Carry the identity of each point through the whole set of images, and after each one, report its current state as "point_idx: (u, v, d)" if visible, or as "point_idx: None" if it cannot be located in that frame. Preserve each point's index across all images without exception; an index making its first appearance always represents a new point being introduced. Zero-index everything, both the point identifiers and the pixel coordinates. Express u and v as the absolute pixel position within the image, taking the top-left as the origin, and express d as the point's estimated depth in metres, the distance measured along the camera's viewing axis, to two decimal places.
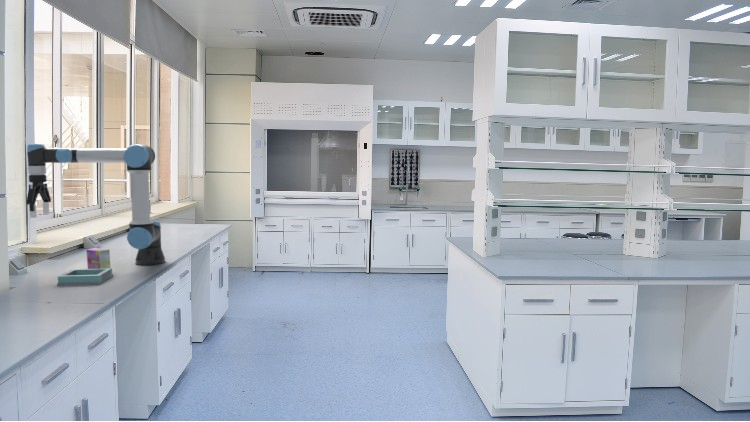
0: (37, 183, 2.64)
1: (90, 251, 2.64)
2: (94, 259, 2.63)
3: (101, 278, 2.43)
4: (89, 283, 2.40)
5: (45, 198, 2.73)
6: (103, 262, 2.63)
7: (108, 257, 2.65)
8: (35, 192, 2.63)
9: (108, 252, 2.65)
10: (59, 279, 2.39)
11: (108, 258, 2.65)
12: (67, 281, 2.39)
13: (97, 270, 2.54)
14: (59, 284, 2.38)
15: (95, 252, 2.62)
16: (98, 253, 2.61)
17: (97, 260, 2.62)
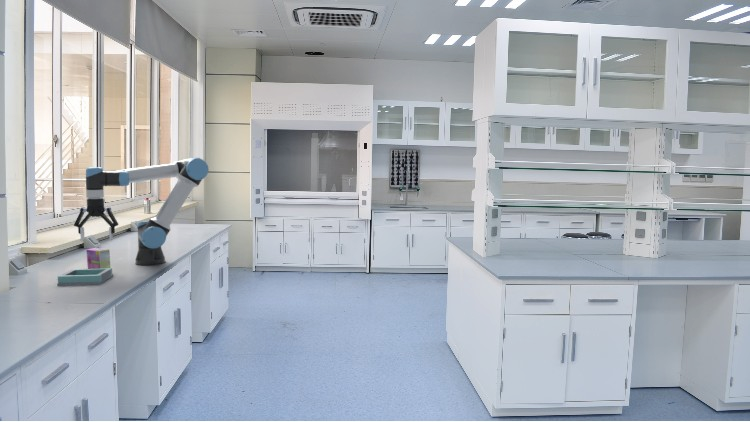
0: (88, 207, 2.62)
1: (90, 251, 2.64)
2: (94, 259, 2.63)
3: (101, 278, 2.43)
4: (89, 283, 2.40)
5: None
6: (103, 262, 2.63)
7: (108, 257, 2.65)
8: (87, 215, 2.63)
9: (108, 252, 2.65)
10: (59, 279, 2.39)
11: (108, 258, 2.65)
12: (67, 281, 2.39)
13: (97, 270, 2.54)
14: (59, 284, 2.38)
15: (95, 252, 2.62)
16: (98, 253, 2.61)
17: (97, 260, 2.62)
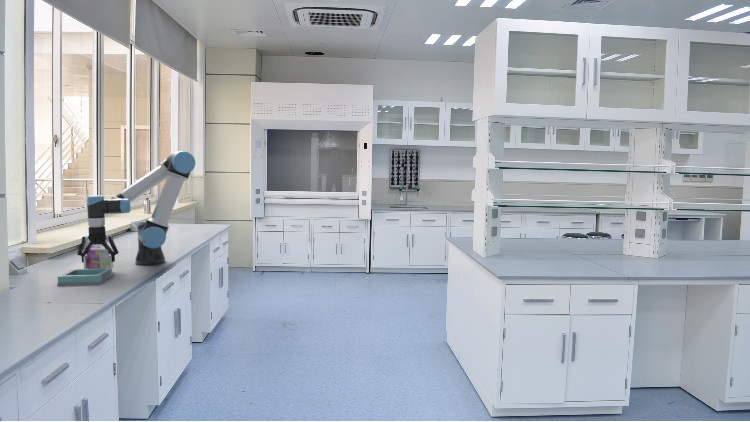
0: (90, 235, 2.63)
1: (90, 251, 2.64)
2: (94, 259, 2.63)
3: (101, 278, 2.43)
4: (89, 283, 2.40)
5: None
6: (103, 262, 2.63)
7: (108, 257, 2.65)
8: (89, 244, 2.64)
9: (108, 252, 2.65)
10: (59, 279, 2.39)
11: (108, 258, 2.65)
12: (67, 281, 2.39)
13: (97, 270, 2.54)
14: (59, 284, 2.38)
15: (95, 252, 2.62)
16: (98, 253, 2.61)
17: (97, 260, 2.62)
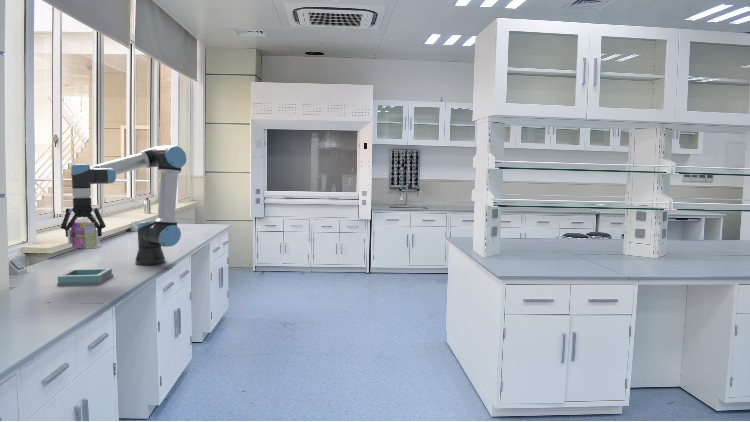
0: (74, 207, 2.43)
1: (74, 224, 2.44)
2: (79, 233, 2.43)
3: (101, 278, 2.43)
4: (89, 283, 2.40)
5: None
6: (89, 236, 2.43)
7: (94, 231, 2.45)
8: None
9: (94, 225, 2.45)
10: (59, 279, 2.39)
11: (94, 232, 2.45)
12: (67, 281, 2.39)
13: (97, 270, 2.54)
14: (59, 284, 2.38)
15: (80, 225, 2.42)
16: (83, 226, 2.41)
17: (82, 234, 2.42)
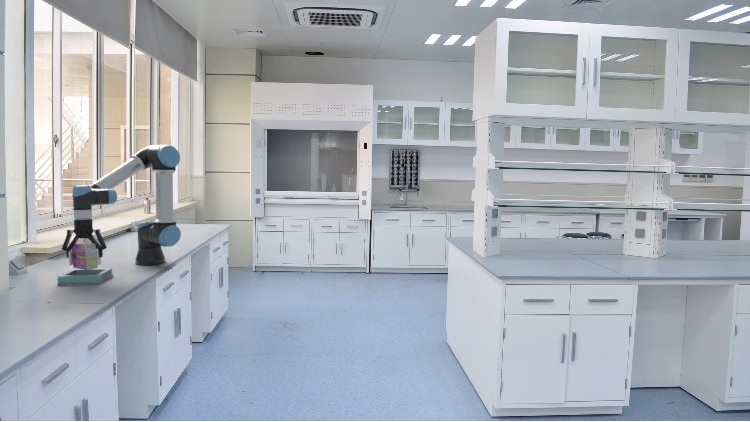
0: (75, 228, 2.44)
1: (75, 245, 2.45)
2: (80, 254, 2.44)
3: (101, 278, 2.43)
4: (89, 283, 2.40)
5: None
6: (90, 257, 2.44)
7: (95, 252, 2.46)
8: None
9: (95, 247, 2.46)
10: (59, 279, 2.39)
11: (95, 253, 2.46)
12: (67, 281, 2.39)
13: (97, 270, 2.54)
14: (59, 284, 2.38)
15: (81, 246, 2.43)
16: (84, 247, 2.42)
17: (83, 255, 2.43)
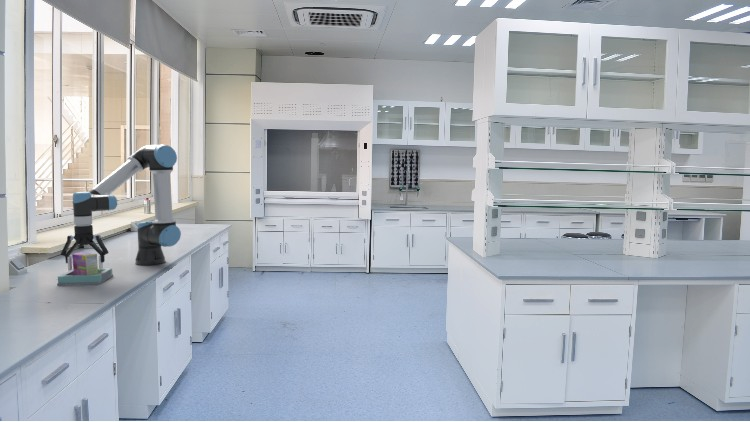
0: (76, 234, 2.44)
1: (76, 256, 2.45)
2: (80, 264, 2.44)
3: (101, 278, 2.43)
4: (89, 283, 2.40)
5: None
6: (90, 268, 2.44)
7: (95, 262, 2.46)
8: None
9: (95, 257, 2.46)
10: (59, 279, 2.39)
11: (95, 263, 2.46)
12: (67, 281, 2.39)
13: None
14: (59, 284, 2.38)
15: (81, 257, 2.43)
16: (84, 258, 2.42)
17: (83, 266, 2.43)
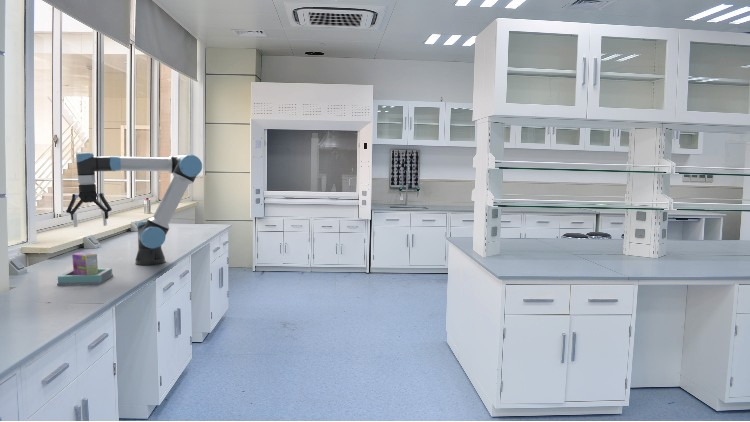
0: (81, 193, 2.60)
1: (76, 256, 2.45)
2: (80, 264, 2.44)
3: (101, 278, 2.43)
4: (89, 283, 2.40)
5: None
6: (90, 268, 2.44)
7: (95, 262, 2.46)
8: (79, 202, 2.60)
9: (95, 257, 2.46)
10: (59, 279, 2.39)
11: (95, 263, 2.46)
12: (67, 281, 2.39)
13: None
14: (59, 284, 2.38)
15: (81, 257, 2.43)
16: (84, 258, 2.42)
17: (83, 266, 2.43)
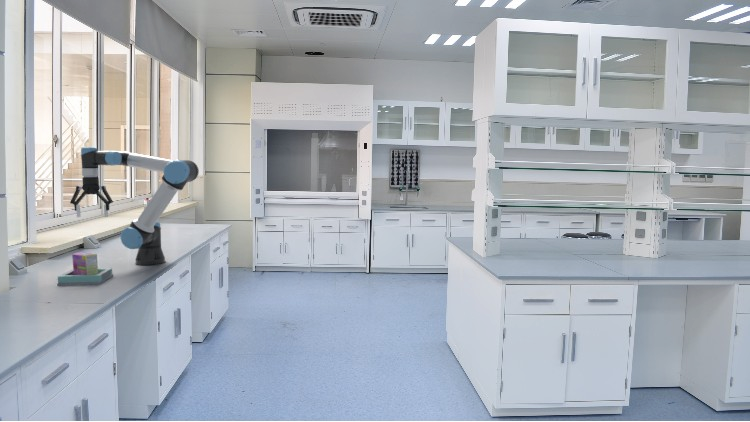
0: (84, 185, 2.73)
1: (76, 256, 2.45)
2: (80, 264, 2.44)
3: (101, 278, 2.43)
4: (89, 283, 2.40)
5: None
6: (90, 268, 2.44)
7: (95, 262, 2.46)
8: None
9: (95, 257, 2.46)
10: (59, 279, 2.39)
11: (95, 263, 2.46)
12: (67, 281, 2.39)
13: None
14: (59, 284, 2.38)
15: (81, 257, 2.43)
16: (84, 258, 2.42)
17: (83, 266, 2.43)
